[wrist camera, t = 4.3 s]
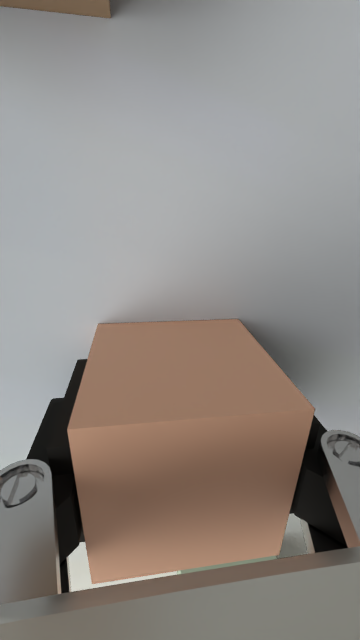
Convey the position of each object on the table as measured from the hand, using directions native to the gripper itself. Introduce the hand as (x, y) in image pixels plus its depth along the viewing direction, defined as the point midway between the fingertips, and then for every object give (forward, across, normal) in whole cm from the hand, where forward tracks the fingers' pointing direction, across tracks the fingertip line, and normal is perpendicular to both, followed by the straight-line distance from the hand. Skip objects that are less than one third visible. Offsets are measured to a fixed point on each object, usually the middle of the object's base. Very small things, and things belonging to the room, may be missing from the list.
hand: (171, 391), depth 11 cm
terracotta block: (+1, 0, 0) cm, 1 cm away
